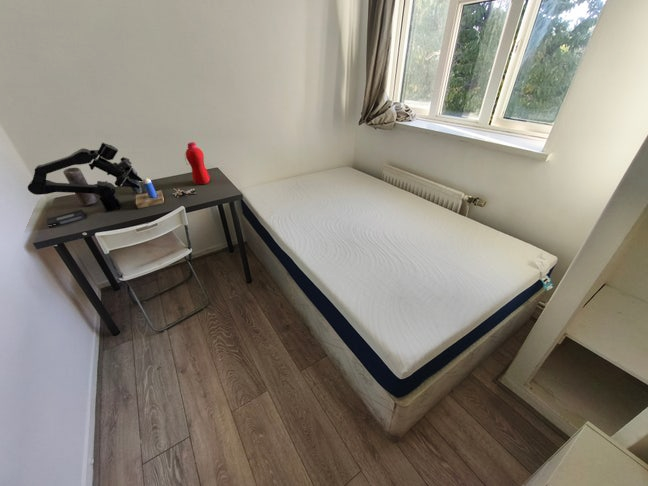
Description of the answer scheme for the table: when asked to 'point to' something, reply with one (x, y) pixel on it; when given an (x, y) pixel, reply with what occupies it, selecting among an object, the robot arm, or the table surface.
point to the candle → (77, 178)
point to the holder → (149, 200)
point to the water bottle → (197, 164)
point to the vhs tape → (65, 218)
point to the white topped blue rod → (149, 188)
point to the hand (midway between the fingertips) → (141, 183)
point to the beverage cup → (136, 190)
